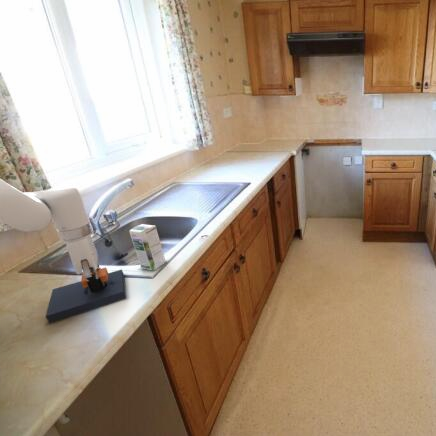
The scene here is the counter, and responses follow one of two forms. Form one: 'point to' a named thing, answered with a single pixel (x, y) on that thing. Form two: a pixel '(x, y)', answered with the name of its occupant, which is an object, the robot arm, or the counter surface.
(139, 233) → the syrup box
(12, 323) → the counter surface
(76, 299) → the base pad
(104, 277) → the top pad
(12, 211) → the robot arm
